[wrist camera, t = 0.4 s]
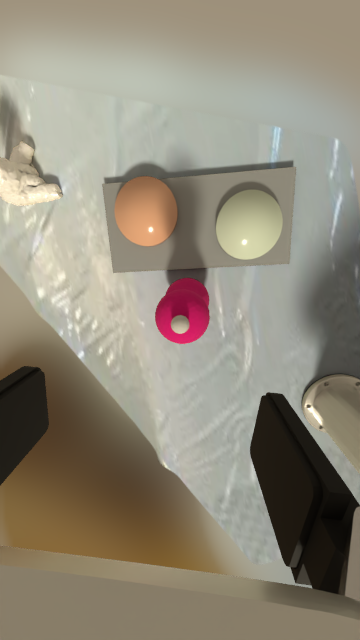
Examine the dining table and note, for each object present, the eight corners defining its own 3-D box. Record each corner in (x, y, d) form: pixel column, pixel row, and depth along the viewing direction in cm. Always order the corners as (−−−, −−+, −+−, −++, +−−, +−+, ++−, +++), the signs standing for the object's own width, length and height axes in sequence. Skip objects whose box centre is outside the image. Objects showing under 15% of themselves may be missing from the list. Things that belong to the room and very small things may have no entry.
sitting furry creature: (67, 196, 36) (6, 164, 25) (31, 226, 38) (-41, 209, 26) (31, 143, 35) (-52, 81, 23) (-5, 176, 36) (-98, 134, 25)
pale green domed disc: (280, 190, 33) (284, 186, 31) (277, 258, 35) (280, 257, 34) (215, 195, 33) (215, 192, 32) (215, 261, 36) (216, 261, 34)
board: (292, 170, 33) (296, 166, 32) (286, 263, 36) (289, 263, 35) (105, 186, 35) (102, 183, 34) (115, 272, 39) (113, 272, 38)
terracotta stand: (176, 177, 33) (175, 173, 32) (179, 244, 36) (178, 243, 34) (114, 182, 34) (110, 179, 33) (121, 248, 36) (118, 247, 35)
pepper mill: (174, 271, 38) (151, 277, 19) (213, 283, 38) (230, 301, 19) (163, 309, 40) (133, 350, 20) (200, 320, 40) (204, 372, 20)
